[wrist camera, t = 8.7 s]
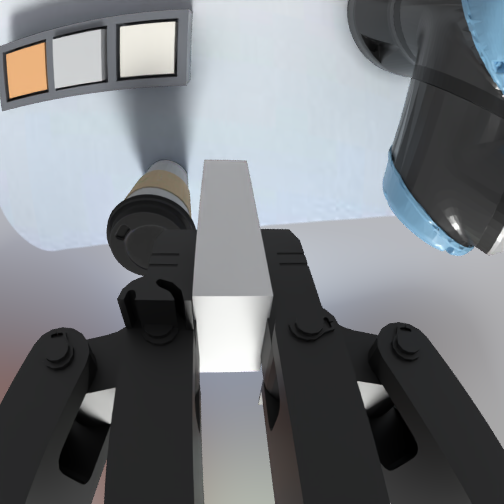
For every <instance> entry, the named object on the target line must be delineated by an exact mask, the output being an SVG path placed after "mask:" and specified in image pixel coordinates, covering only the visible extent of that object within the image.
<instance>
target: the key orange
mask: <svg viewBox="0 0 504 504" xmlns="http://www.w3.org/2000/svg"><path fill="white" fill-rule="evenodd" d="M6 60H7V75H8V87H9V96H10V98H13V97H17V96H21V95H25V94H29V93H33V92H37V91H42V90H46V89H49V88H48V75H47V57H46V42H44V43H41V44H37V45H34V46H31V47H27V48H24V49H21V50H18V51H15V52H12V53H9V54H6Z"/></svg>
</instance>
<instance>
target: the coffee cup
mask: <svg viewBox="0 0 504 504" xmlns="http://www.w3.org/2000/svg"><path fill="white" fill-rule="evenodd" d="M164 230H196V228H195V225H194V223H193V220H192V219H191V205H190V192H189V189H188V176H187V173H186V171H185V170H184V169H183V168H182V167H181V166H180V165H179V164H177V163H175V162H173V161H170V160H160V161H157V162H156V163H154V164H153V165H152V166H151V167H150V168H149V169H148V170H147V172H146V173H145V174H144V175H143V176H142V177H141V178H140V179H139V180H138V182H137V183H136V184H135V186H134V187H133V189H132V190H131V191H130V193H129V194H128V195H127V197H126V198H125V200H124V201H122V202H121V203H119V204H118V205H117V206H116V207H115V208H114V210H113V211H112V213H111V214H110V217H109V220H108V224H107V240H108V243H109V246H110V248H111V251H112V253H113V255H114V257H115V258H116V260H117V261H118V262H119V263H120V264H121V265H122V266H123V267H125V268H126V269H127V270H129V271H131V272H133V273H135V274H138V275H142V276H146V275H147V270H148V267H149V262H150V258H151V256H152V249H153V245H154V241H155V240H156V239H157V237H158V236H159V235H160V234H161V233H162V232H163V231H164Z"/></svg>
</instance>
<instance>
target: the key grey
mask: <svg viewBox="0 0 504 504" xmlns="http://www.w3.org/2000/svg"><path fill="white" fill-rule="evenodd" d="M53 67H54V82H55V89H56V88H61V87H66V86H72V85H78V84H84V83H90V82H97V81H103V80H105V79H107V78H108V72H107V29H100V30H94V31H89V32H84V33H79V34H74V35H70V36H65V37H61V38H57V39H53Z"/></svg>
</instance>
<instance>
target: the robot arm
mask: <svg viewBox="0 0 504 504" xmlns="http://www.w3.org/2000/svg"><path fill="white" fill-rule="evenodd" d="M348 23H349V28H350V31H351V34H352V37H353V39H354V41H355V43H356V44H357V46H358V48H359V49H360V50H361V52H362V53H363V54H364V55H365V56H366V57H367V58H368V59H369V60H370V61H371V62H372V63H373V64H375V65H376V66H378V67H379V68H381V69H383V70H385V71H388V72H390V73H393V74H397V75H400V76H405V77H412V78H411V81H410V85H409V89H408V93H407V97H406V101H405V104H404V108H403V112H402V116H401V119H400V123H399V126H398V129H397V132H396V136H395V139H394V142H393V145H391V147H390V149H389V153H388V158H389V159H388V163H387V168H386V171H385V175H384V178H383V192H384V195H385V198H386V199H387V201H388V205H389V207H390V208H391V210H392V211H393V213H394V214H395V215H396V216H397V218H398V219H399V220H400V221H401V222H402V223H403V224H404V225H405V226H406V227H407V228H408V229H409V230H410V231H411V232H413V233H414V234H415V235H416V236H417V237H419V238H420V239H422V240H423V241H424V242H426V243H427V244H429V245H431V246H432V247H434V248H436V249H438V250H440V251H444V250H446V251H447V252H448V253H449V254H451V255H457V256H460V255H464V254H466V253H468V252H469V251H471V250H472V249H473V248H474V246H475V247H477V248H478V249H480V250H481V251H483V252H484V253H485V254H487V255H489V256H490V255H494V254H498V253H502V252H504V0H349V4H348ZM117 300H118V304H119V307H120V310H121V313H122V316H123V319H124V323H125V326H126V327H125V328H123V329H121V330H120V331H118V332H115V333H112V334H109V335H105V336H101V337H97V338H92V339H88V340H86V339H85V337H84V336H83V334H82V333H80V332H78V331H77V330H75V329H72V328H64V327H62V328H58V329H53V330H51V331H49V332H47V333H46V334H44V335H42V336H41V338H40V339H39V340H38V341H37V342H36V343H35V344H34V346H33V348H32V350H31V351H30V353H29V354H28V356H27V358H26V359H25V361H24V363H23V364H22V366H21V368H20V369H19V371H18V373H17V375H16V377H15V378H14V380H13V382H12V384H11V385H10V387H9V389H8V391H7V393H6V395H5V397H4V398H3V400H2V402H1V404H0V504H91V503H92V500H93V497H94V494H95V491H96V488H97V485H98V482H99V480H100V477H101V474H102V471H103V468H104V465H105V463H106V460H107V467H106V481H105V497H104V499H105V500H104V504H204V493H203V492H204V491H203V468H202V439H201V392H200V372H245V371H260V367H261V364H262V371H263V383H262V387H261V392H260V397H259V405H262V404H263V409H264V416H265V425H266V434H267V442H268V450H269V458H270V466H271V474H272V482H273V490H274V498H275V504H390V503H391V504H504V449H503V448H502V446H501V445H500V443H499V441H498V440H497V438H496V437H495V435H494V433H493V431H492V430H491V428H490V427H489V425H488V424H487V422H486V421H485V419H484V417H483V416H482V415H481V413H480V411H479V410H478V408H477V407H476V405H475V404H474V403H473V401H472V400H471V398H470V396H469V395H468V393H467V392H466V391H465V389H464V388H463V386H462V385H461V383H460V382H459V380H458V379H457V378H456V377H455V375H454V373H453V372H452V371H451V369H450V368H449V366H448V365H447V364H446V362H445V361H444V359H443V358H442V357H441V355H440V354H439V353H438V351H437V350H436V349H435V347H434V346H433V345H432V343H431V342H430V341H429V339H428V338H427V337H426V336H425V335H424V334H423V333H422V332H421V331H420V330H419V329H417V328H415V327H413V326H412V325H410V324H405V323H400V322H397V323H390V324H388V325H387V326H385V327H383V328H382V329H381V331H380V333H379V335H374V334H369V333H364V332H359V331H354V330H351V329H347V328H344V327H342V326H340V325H339V324H338V323H337V321H336V319H335V318H334V316H333V315H331V314H330V313H329V312H327V310H325V309H323V308H322V306H321V303H320V300H319V297H318V294H317V290H316V288H315V284H314V282H313V278H312V275H311V272H310V269H309V267H308V266H307V260H306V257H305V255H304V251H303V249H302V246H301V243H300V240H299V239H298V238H297V237H296V236H295V235H294V234H293V233H292V232H291V231H290V230H288V229H260V225H259V220H258V215H257V209H256V204H255V199H254V194H253V189H252V184H251V179H250V174H249V169H248V164H247V161H243V160H204V167H203V176H202V185H201V195H200V205H199V216H198V227H197V230H164V231H163V232H162V233H161V234H160V235H159V236H158V237H157V239H156V240H155V241H154V245H153V249H152V256H151V258H150V262H149V267H148V270H147V275H146V276H143V277H141V278H138V279H136V280H133V281H132V282H130V283H129V284H128V285H127V286H126V287H125V288H123V289H122V291H121V293H120V295H119V297H118V298H117Z"/></svg>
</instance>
